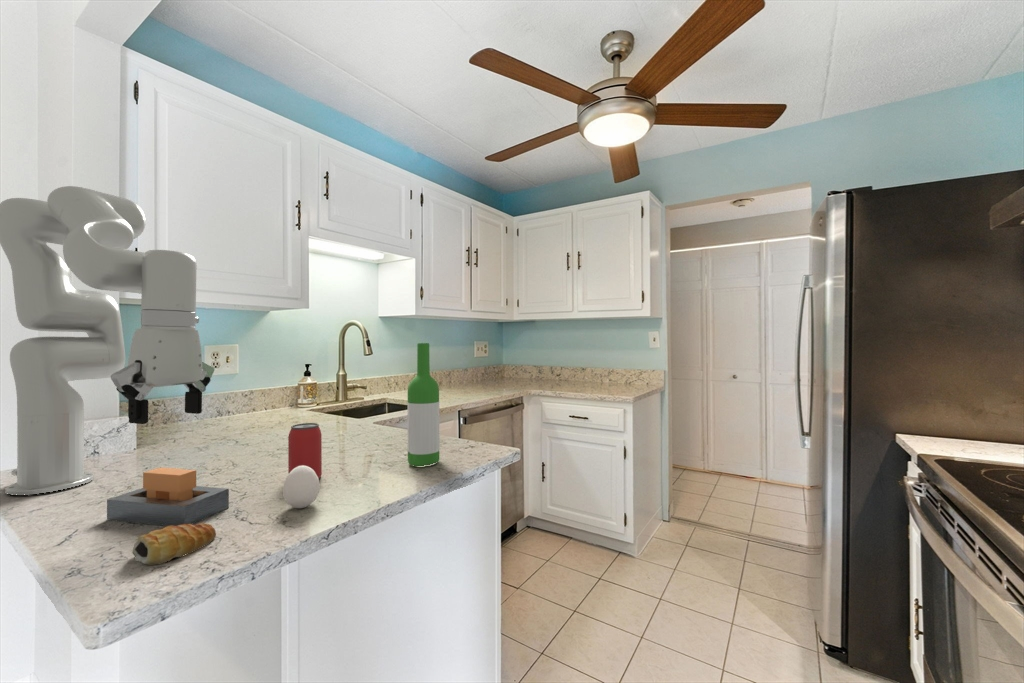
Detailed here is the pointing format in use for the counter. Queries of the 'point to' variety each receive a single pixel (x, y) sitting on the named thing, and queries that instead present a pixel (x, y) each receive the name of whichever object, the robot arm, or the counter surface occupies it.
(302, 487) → the egg
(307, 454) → the beer can
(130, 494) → the gray rectangular frame
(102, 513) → the counter surface
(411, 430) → the wine bottle
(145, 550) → the pastry
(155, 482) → the tall orange stepped block
